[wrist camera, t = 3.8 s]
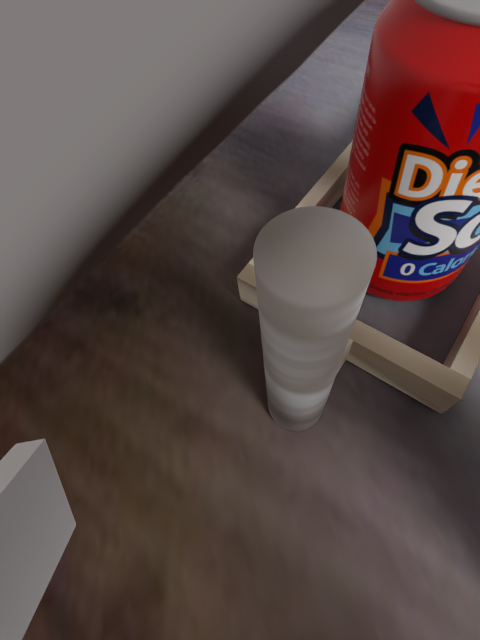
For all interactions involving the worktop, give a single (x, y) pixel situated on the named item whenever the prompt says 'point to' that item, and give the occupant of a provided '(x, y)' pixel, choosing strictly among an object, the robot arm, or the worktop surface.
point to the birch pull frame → (334, 312)
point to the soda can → (419, 146)
